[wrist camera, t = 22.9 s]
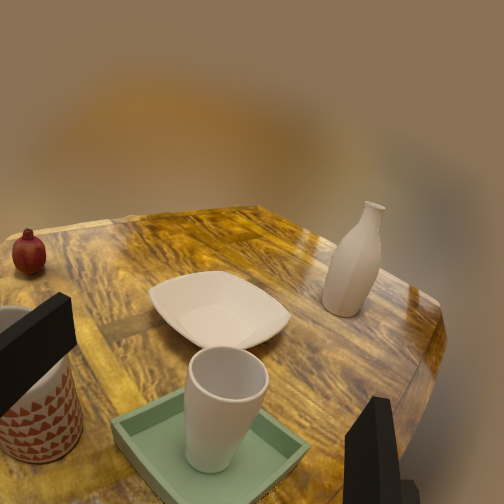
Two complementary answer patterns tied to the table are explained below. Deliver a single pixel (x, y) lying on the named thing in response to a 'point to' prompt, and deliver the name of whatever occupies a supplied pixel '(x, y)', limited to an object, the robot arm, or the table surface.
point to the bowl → (219, 309)
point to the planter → (41, 410)
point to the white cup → (221, 404)
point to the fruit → (29, 253)
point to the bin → (188, 478)
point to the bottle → (354, 265)
